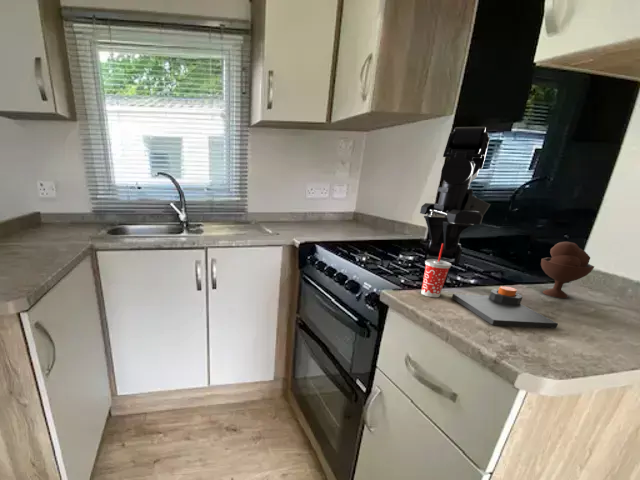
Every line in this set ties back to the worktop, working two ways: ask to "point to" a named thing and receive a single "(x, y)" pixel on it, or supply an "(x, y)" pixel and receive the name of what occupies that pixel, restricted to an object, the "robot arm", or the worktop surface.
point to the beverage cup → (435, 276)
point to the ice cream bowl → (565, 266)
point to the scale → (503, 310)
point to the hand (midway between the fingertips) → (440, 246)
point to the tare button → (507, 291)
